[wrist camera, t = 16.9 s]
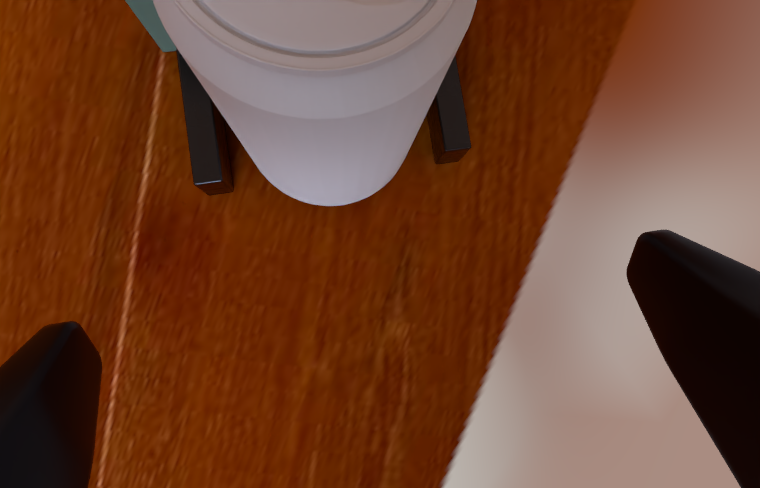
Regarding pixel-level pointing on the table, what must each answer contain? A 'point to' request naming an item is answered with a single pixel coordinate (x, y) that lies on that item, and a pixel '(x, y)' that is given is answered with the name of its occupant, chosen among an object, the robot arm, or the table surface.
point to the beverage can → (321, 82)
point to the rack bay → (210, 127)
